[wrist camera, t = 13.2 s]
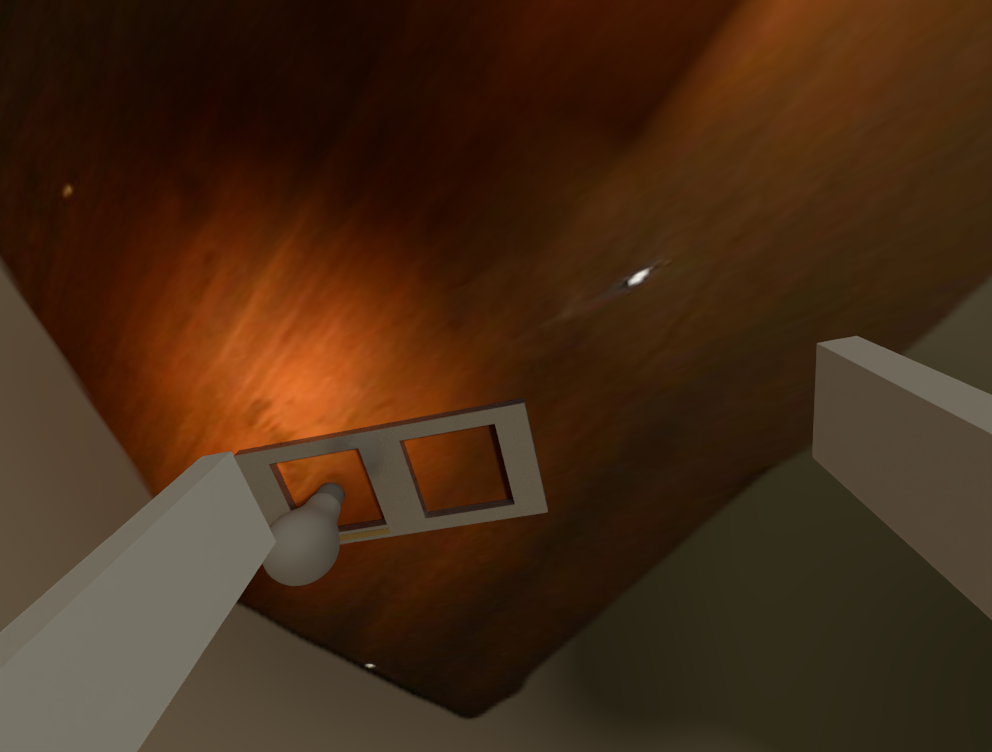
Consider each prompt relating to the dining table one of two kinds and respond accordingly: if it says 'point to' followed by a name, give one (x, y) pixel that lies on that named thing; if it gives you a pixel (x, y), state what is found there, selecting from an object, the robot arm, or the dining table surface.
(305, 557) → the lightbulb
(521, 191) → the dining table surface
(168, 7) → the dining table surface
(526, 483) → the grey window frame
